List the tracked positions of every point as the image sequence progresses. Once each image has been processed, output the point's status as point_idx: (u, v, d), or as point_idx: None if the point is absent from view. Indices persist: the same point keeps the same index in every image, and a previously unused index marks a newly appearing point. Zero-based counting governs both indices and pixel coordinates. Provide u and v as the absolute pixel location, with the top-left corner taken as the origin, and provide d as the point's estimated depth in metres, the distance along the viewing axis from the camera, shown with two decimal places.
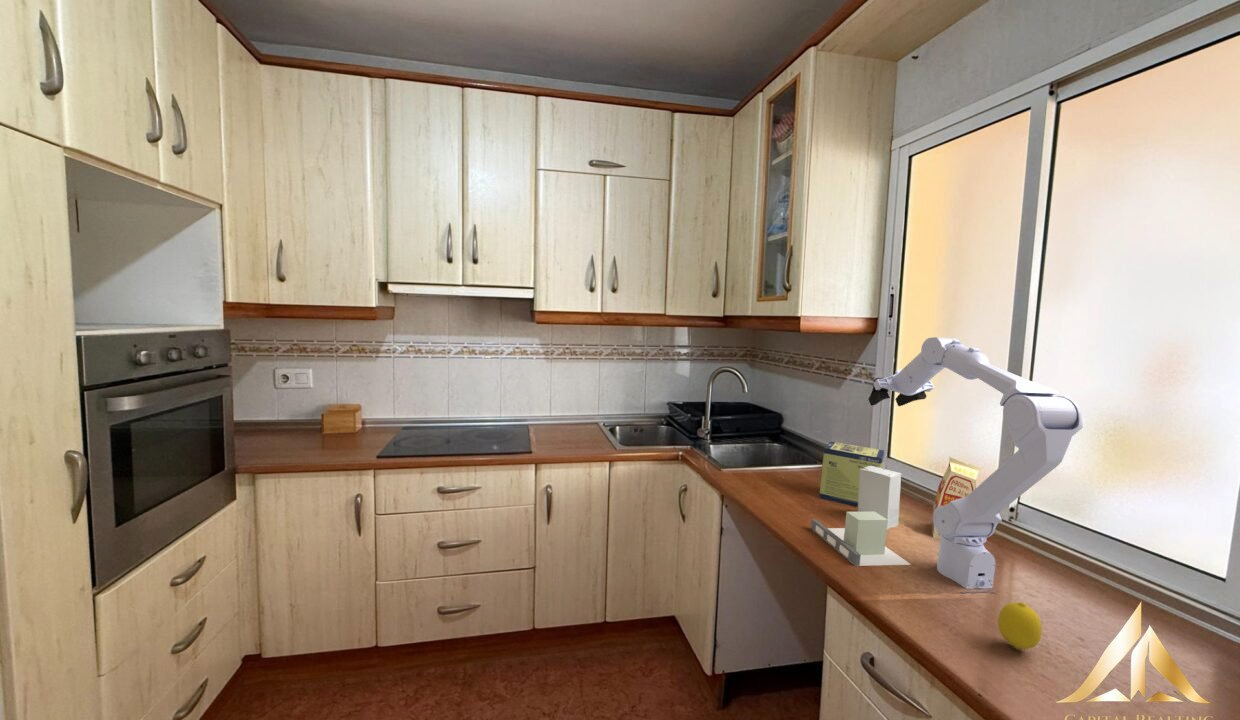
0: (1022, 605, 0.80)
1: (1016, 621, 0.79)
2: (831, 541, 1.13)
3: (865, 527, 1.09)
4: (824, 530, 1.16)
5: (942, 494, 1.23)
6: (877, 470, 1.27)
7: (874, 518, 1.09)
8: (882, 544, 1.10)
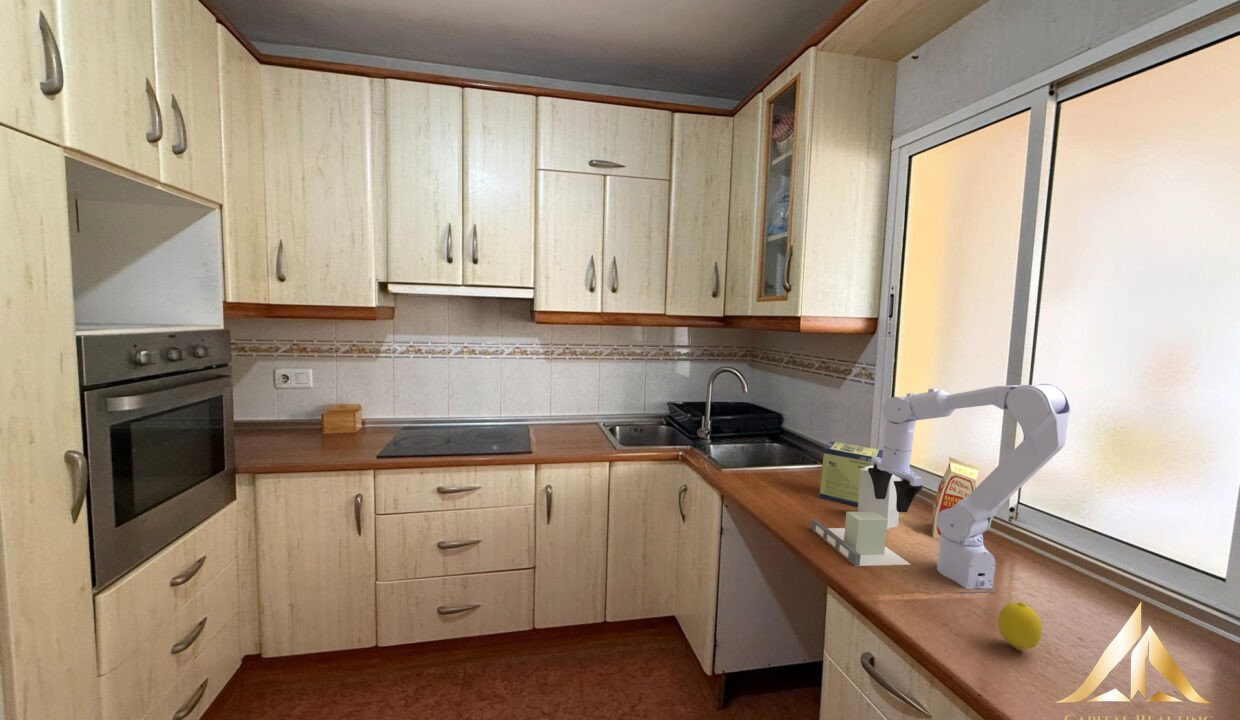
0: (1022, 605, 0.80)
1: (1016, 621, 0.79)
2: (831, 541, 1.13)
3: (865, 527, 1.09)
4: (824, 530, 1.16)
5: (942, 494, 1.23)
6: None
7: (874, 518, 1.09)
8: (882, 544, 1.10)
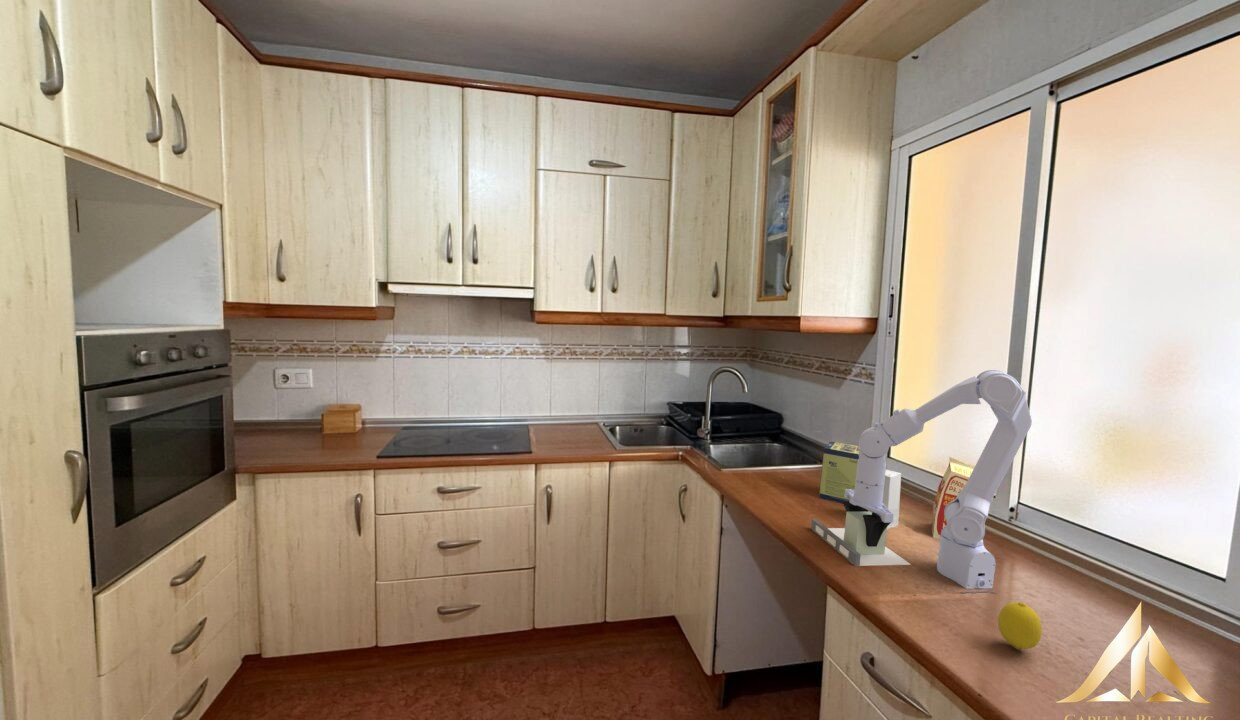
0: (1022, 605, 0.80)
1: (1016, 621, 0.79)
2: (831, 541, 1.13)
3: (865, 527, 1.09)
4: (824, 530, 1.16)
5: (942, 494, 1.23)
6: None
7: None
8: (882, 544, 1.10)
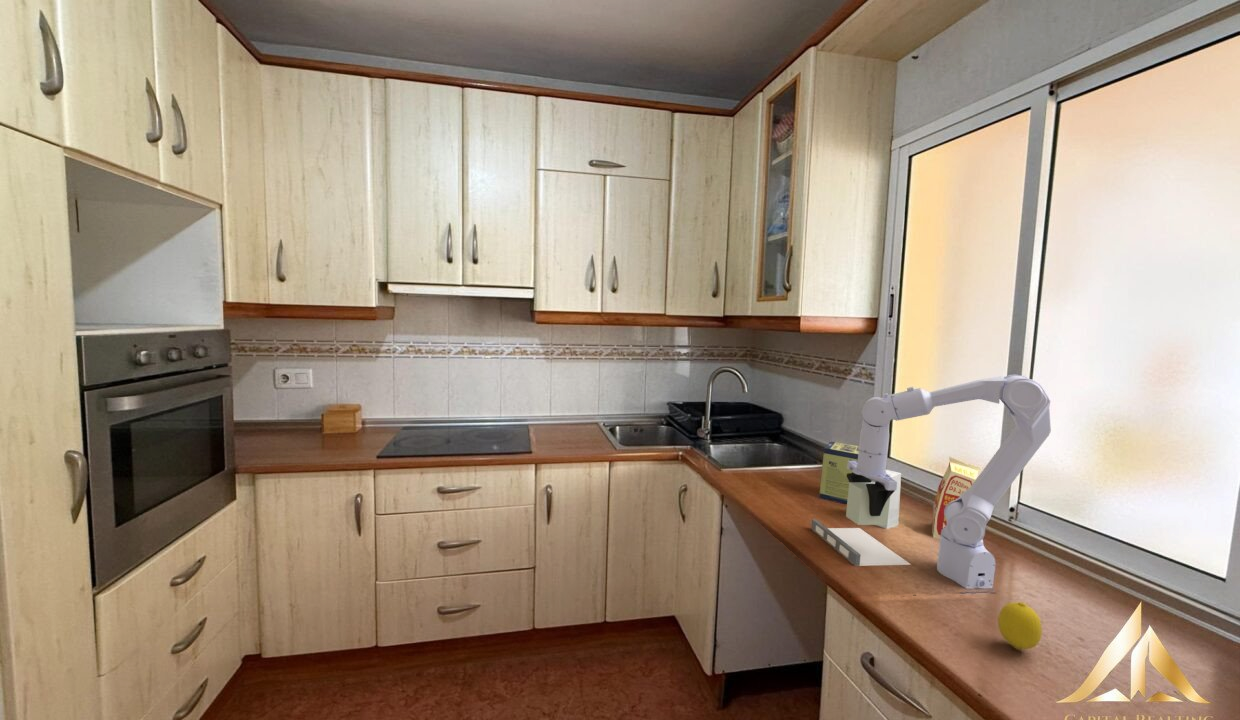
0: (1022, 605, 0.80)
1: (1016, 621, 0.79)
2: (831, 541, 1.13)
3: (868, 497, 1.08)
4: (824, 530, 1.16)
5: (942, 494, 1.23)
6: None
7: None
8: (885, 514, 1.09)
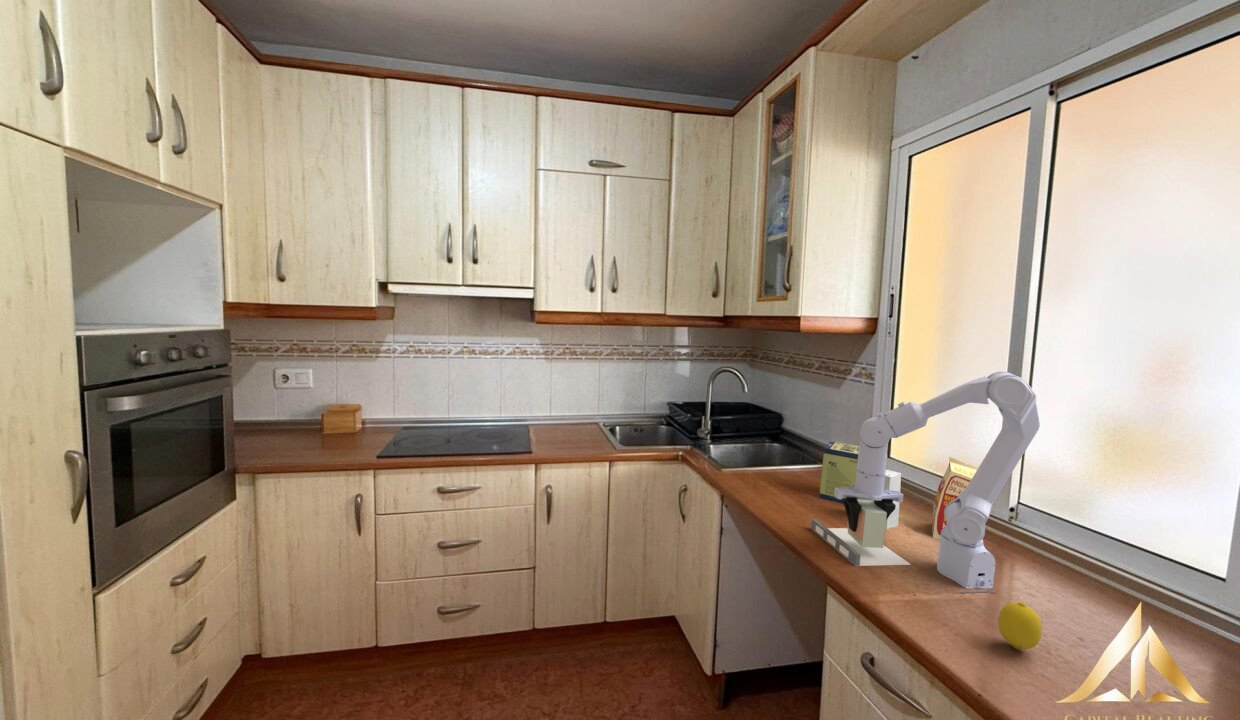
0: (1022, 605, 0.80)
1: (1016, 621, 0.79)
2: (831, 541, 1.13)
3: None
4: (824, 530, 1.16)
5: (942, 494, 1.23)
6: None
7: (873, 505, 1.12)
8: None
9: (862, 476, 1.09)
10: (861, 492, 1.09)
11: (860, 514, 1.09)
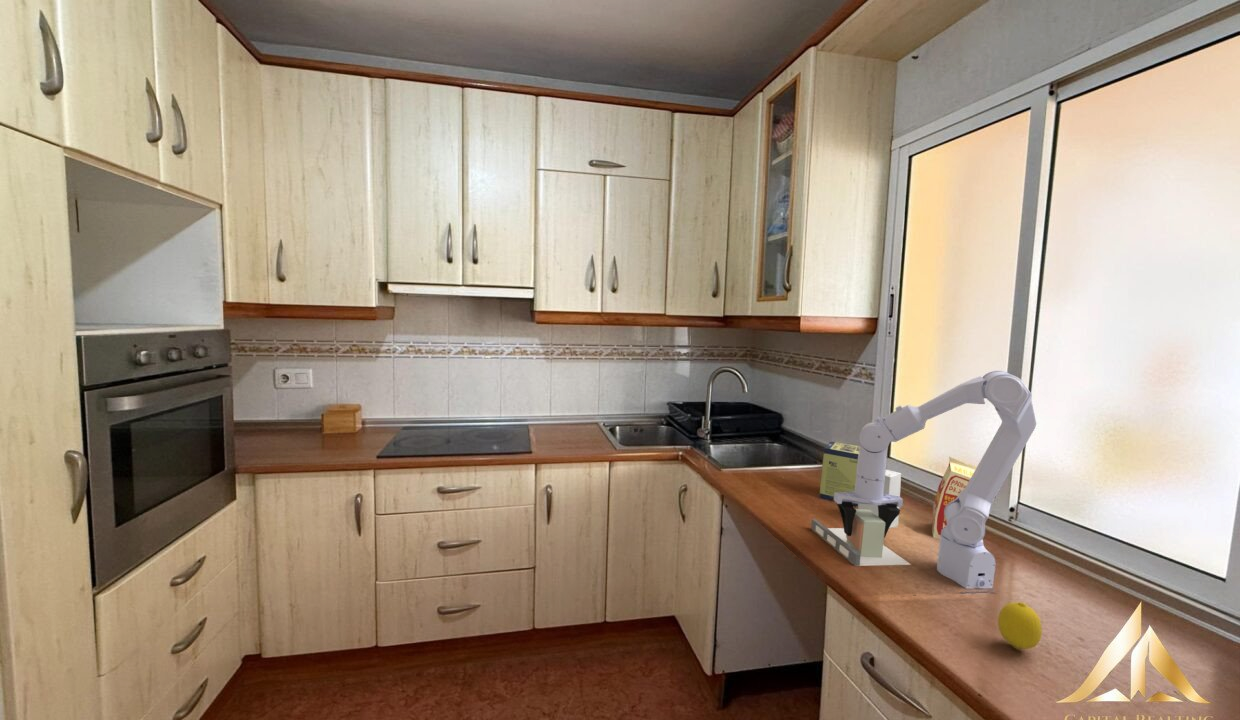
0: (1022, 605, 0.80)
1: (1016, 621, 0.79)
2: (831, 541, 1.13)
3: None
4: (824, 530, 1.16)
5: (942, 494, 1.23)
6: None
7: (872, 514, 1.12)
8: None
9: (862, 481, 1.09)
10: (861, 497, 1.09)
11: (859, 523, 1.09)
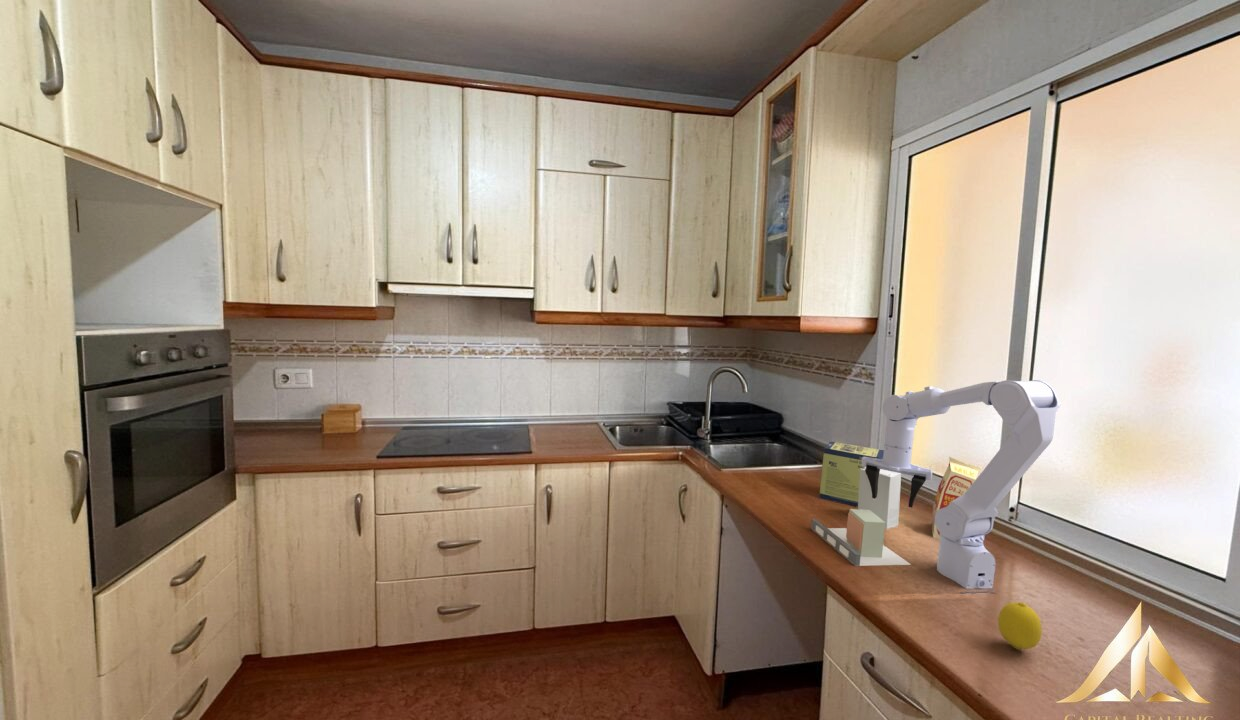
0: (1022, 605, 0.80)
1: (1016, 621, 0.79)
2: (831, 541, 1.13)
3: None
4: (824, 530, 1.16)
5: (942, 494, 1.23)
6: None
7: (872, 514, 1.12)
8: None
9: (885, 447, 1.17)
10: (883, 462, 1.17)
11: (859, 523, 1.09)
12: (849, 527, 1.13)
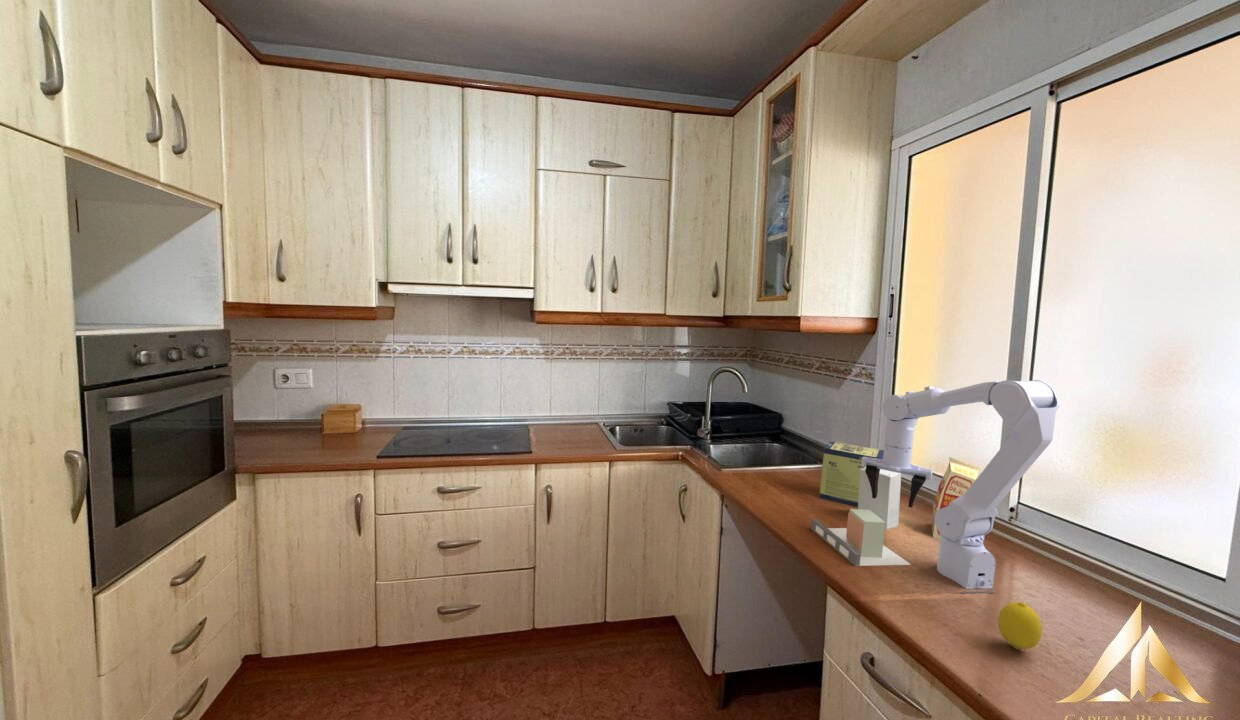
0: (1022, 605, 0.80)
1: (1016, 621, 0.79)
2: (831, 541, 1.13)
3: None
4: (824, 530, 1.16)
5: (942, 494, 1.23)
6: None
7: (872, 514, 1.12)
8: None
9: (885, 447, 1.17)
10: (883, 462, 1.17)
11: (859, 523, 1.09)
12: (849, 527, 1.13)
